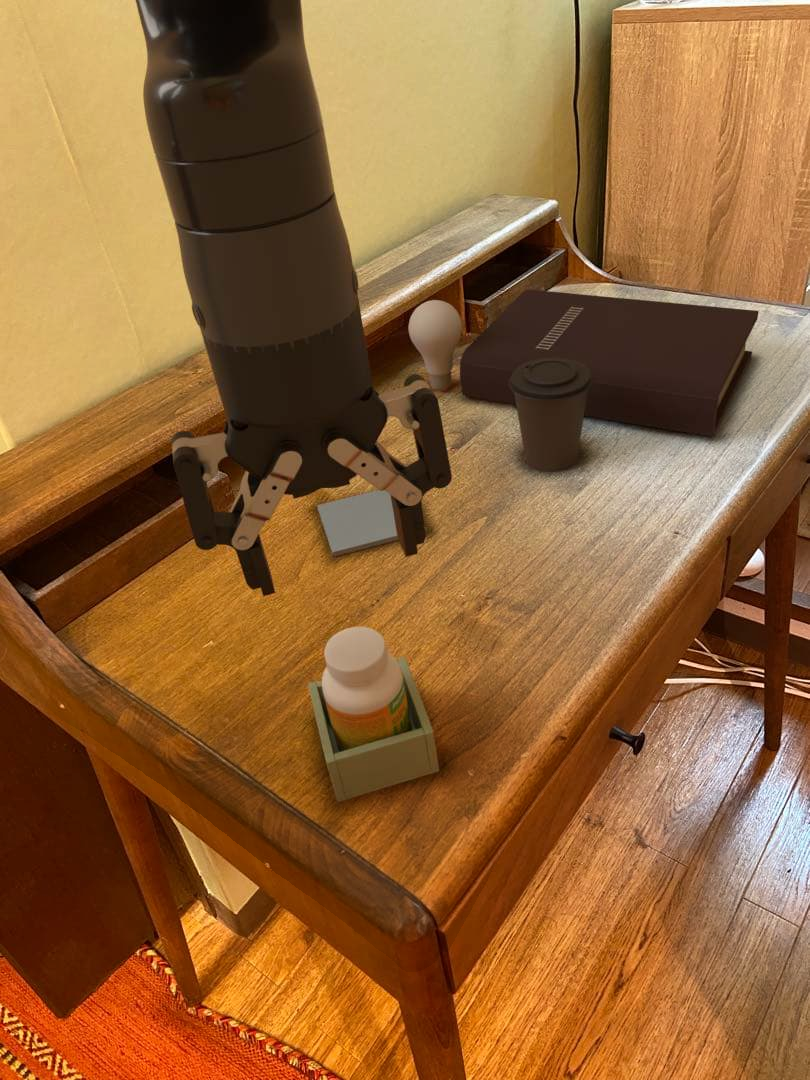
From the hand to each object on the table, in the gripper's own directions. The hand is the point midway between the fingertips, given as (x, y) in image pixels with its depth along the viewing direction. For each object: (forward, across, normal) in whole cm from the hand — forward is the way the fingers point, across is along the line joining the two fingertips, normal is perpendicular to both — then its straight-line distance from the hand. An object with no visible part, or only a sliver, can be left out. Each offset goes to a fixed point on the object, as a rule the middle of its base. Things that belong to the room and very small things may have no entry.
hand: (338, 566), depth 48 cm
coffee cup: (+17, -26, -29) cm, 42 cm away
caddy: (+17, 0, 0) cm, 17 cm away
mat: (+17, -6, -26) cm, 31 cm away
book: (+17, -38, -41) cm, 58 cm away
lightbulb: (+17, -20, -48) cm, 55 cm away
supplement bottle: (+17, 0, 0) cm, 17 cm away
